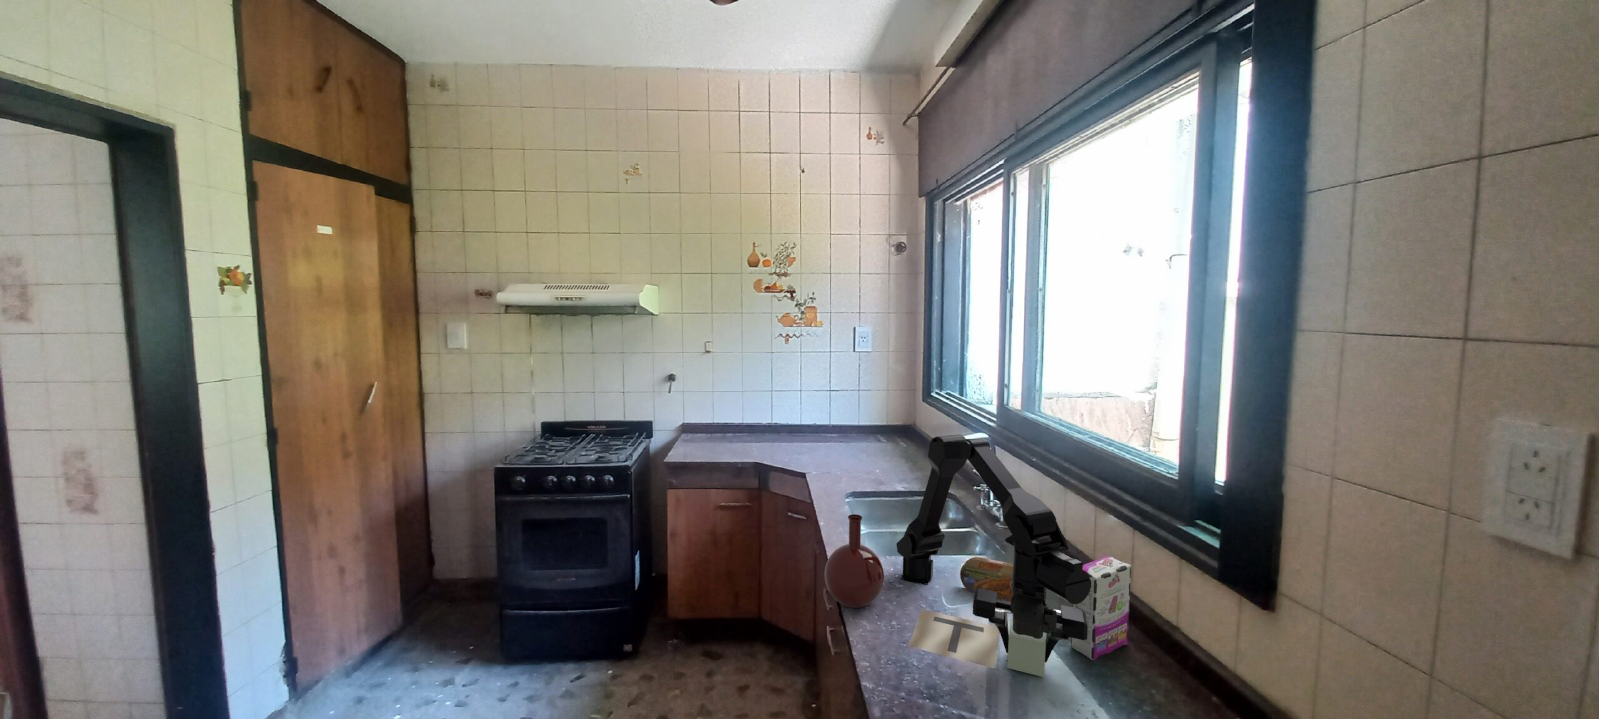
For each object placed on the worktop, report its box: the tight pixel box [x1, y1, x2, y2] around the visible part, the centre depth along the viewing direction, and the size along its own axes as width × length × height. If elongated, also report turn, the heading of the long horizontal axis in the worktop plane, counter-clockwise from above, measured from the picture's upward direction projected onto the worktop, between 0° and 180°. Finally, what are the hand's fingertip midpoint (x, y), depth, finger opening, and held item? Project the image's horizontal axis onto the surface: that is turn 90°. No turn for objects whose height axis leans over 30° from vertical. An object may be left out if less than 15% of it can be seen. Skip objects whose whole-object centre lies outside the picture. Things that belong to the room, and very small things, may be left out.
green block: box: [1006, 618, 1046, 678], centre depth 97 cm, size 6×6×6 cm
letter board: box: [908, 608, 1000, 669], centre depth 106 cm, size 16×14×1 cm
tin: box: [959, 556, 1013, 602], centre depth 121 cm, size 15×3×8 cm, turn 62°
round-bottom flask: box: [824, 513, 885, 609], centre depth 118 cm, size 13×13×20 cm
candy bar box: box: [1070, 555, 1132, 661], centre depth 103 cm, size 11×5×16 cm, turn 117°
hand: (1025, 656), depth 97 cm, fingers closed on green block, 6 cm apart
